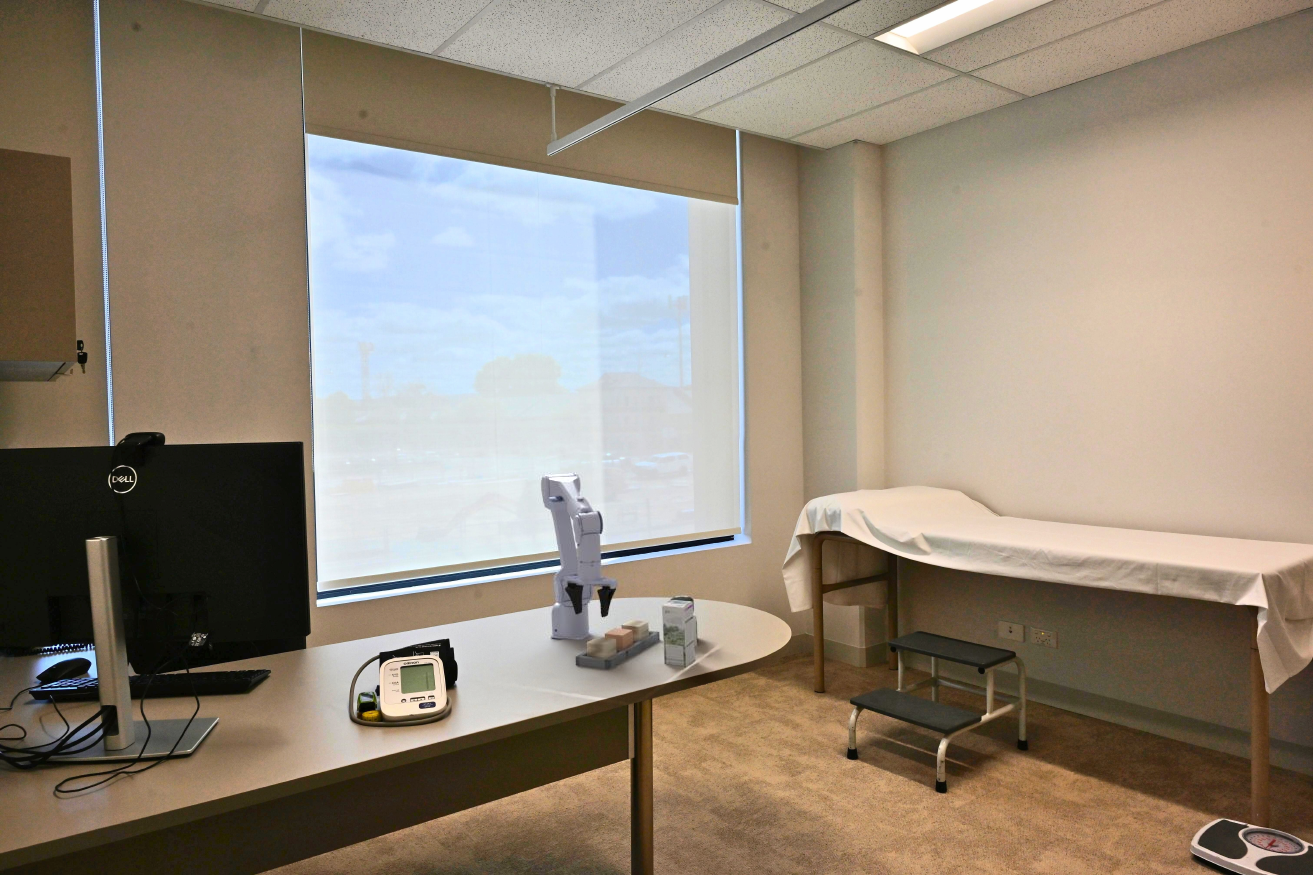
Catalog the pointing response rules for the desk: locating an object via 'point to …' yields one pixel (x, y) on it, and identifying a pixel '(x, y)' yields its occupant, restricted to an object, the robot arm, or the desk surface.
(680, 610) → the syrup box
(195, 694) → the desk surface
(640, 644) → the organiser tray
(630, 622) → the ash block far
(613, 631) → the terracotta block
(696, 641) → the medicine bottle
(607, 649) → the ash block near
